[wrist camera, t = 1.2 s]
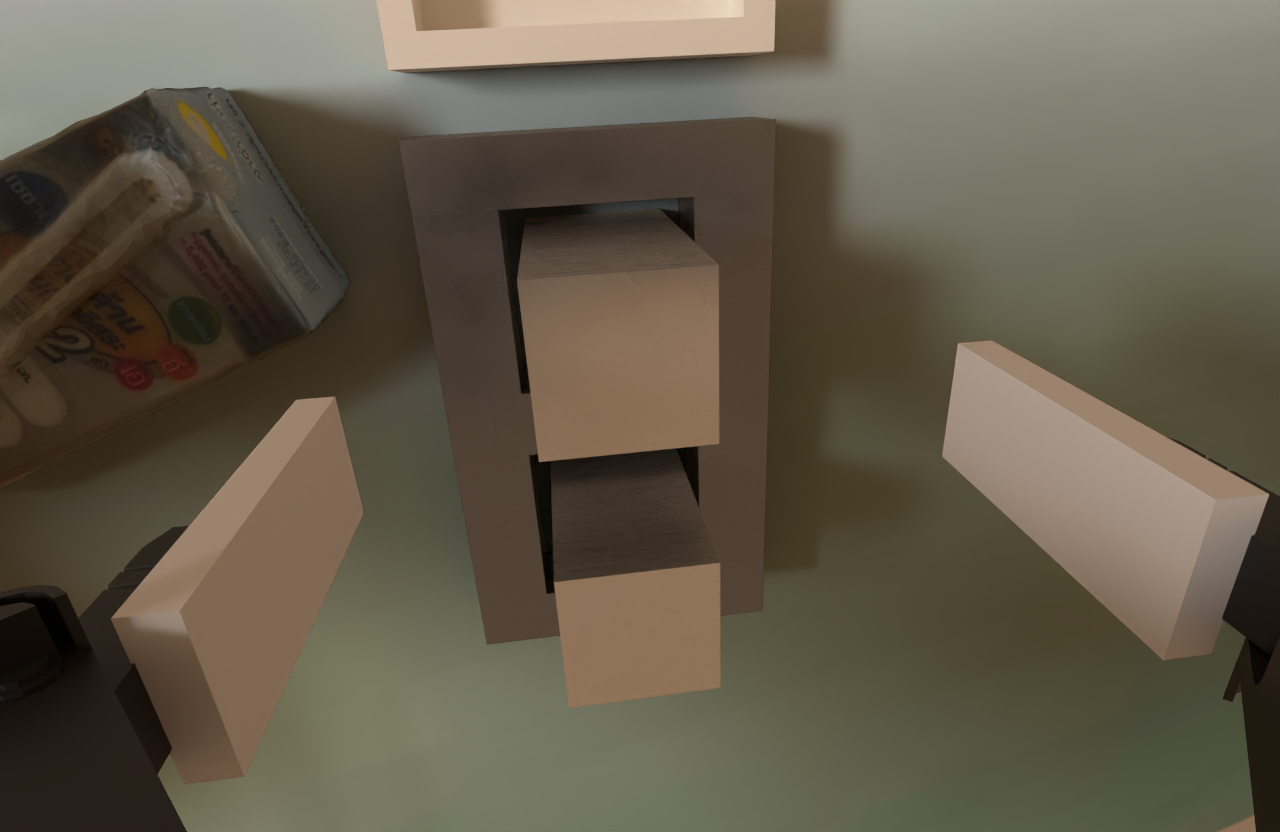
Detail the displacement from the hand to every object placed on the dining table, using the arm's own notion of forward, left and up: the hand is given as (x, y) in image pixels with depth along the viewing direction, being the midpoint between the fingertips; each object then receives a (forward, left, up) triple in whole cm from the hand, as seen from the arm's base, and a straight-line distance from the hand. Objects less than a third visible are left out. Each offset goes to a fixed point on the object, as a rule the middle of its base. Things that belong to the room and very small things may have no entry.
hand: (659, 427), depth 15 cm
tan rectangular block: (0, 0, -14) cm, 14 cm away
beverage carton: (-19, +1, -14) cm, 24 cm away
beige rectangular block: (0, -9, -14) cm, 16 cm away
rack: (0, -4, -14) cm, 14 cm away
